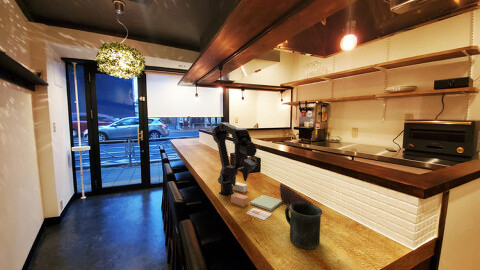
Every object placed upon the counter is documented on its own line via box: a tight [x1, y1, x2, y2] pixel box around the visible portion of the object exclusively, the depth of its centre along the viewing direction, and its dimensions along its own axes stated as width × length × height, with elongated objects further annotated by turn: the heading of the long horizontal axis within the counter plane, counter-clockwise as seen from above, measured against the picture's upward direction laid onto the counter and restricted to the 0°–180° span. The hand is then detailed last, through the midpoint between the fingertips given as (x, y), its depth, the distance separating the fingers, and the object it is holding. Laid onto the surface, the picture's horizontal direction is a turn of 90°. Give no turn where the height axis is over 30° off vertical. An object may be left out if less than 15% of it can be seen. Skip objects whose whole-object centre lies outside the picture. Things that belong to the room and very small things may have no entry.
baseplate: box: [249, 194, 283, 212], centre depth 102 cm, size 12×12×1 cm
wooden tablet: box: [279, 182, 315, 207], centre depth 94 cm, size 26×2×10 cm, turn 21°
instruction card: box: [245, 207, 273, 221], centre depth 91 cm, size 10×7×1 cm
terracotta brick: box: [230, 192, 249, 208], centre depth 102 cm, size 8×4×4 cm, turn 53°
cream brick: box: [232, 181, 248, 194], centre depth 120 cm, size 8×4×4 cm, turn 55°
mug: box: [284, 202, 323, 250], centre depth 72 cm, size 11×15×12 cm
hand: (239, 183), depth 102 cm, fingers open, 9 cm apart
